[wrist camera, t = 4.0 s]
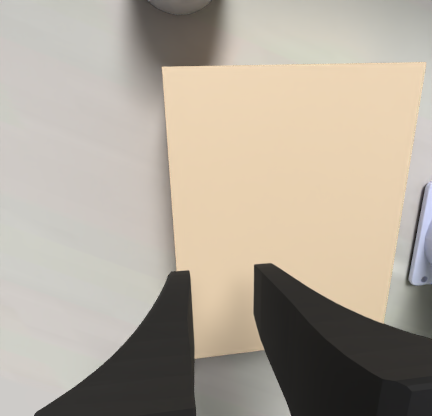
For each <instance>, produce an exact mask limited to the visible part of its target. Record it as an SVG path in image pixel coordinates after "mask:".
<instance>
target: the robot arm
mask: <svg viewBox="0 0 432 416" xmlns="http://www.w3.org/2000/svg"><path fill="white" fill-rule="evenodd" d="M422 277H423V278H422ZM409 282H410V283H411V284H413V285H416V286H417V285H427V284H432V181H430V182H429V183H428V184H427V185H426V187H425V192H424V197H423V203H422V208H421V214H420V219H419V225H418V230H417V236H416V241H415V246H414V252H413V257H412V263H411V268H410V274H409ZM253 315H254V318H255V322H256V326H257V330H258V333H259V337H260V340H261V342H262V345H263V347H264V350H265V352H266V355H267V357H268V359H269V362H270V364H271V366H272V369H273V371H274V373H275V376H276V378H277V380H278V383H279V385H280V388H281V390H282V392H283V395H284V397H285V399H286V402H287V405H288V407H289V410H290V413H291V416H432V339H430V338H426V337H423V336H419V335H416V334H412V333H409V332H406V331H403V330H400V329H397V328H394V327H391V326H389V325H386V324H383V323H380V322H378V321H375V320H373V319H370V318H368V317H365V316H363V315H361V314H358V313H356V312H354V311H352V310H350V309H347V308H345V307H343V306H341V305H339V304H337V303H335V302H334V301H332V300H330V299H328V298H326V297H325V296H323V295H321V294H319V293H318V292H316V291H314V290H312V289H311V288H309V287H308V286H306V285H304V284H303V283H301V282H300V281H298V280H297V279H295V278H294V277H292V276H291V275H289V274H288V273H286V272H285V271H283V270H282V269H280V268H279V267H277V266H276V265H274V264H272V263H265V264H254V305H253ZM194 357H195V345H194V328H193V310H192V293H191V277H190V271H189V270H185V271H174V272H171V273H170V274H169V275H168V278H167V280H166V283H165V285H164V287H163V289H162V291H161V293H160V295H159V297H158V298H157V300H156V302H155V304H154V305H153V307H152V308H151V310H150V311H149V313H148V314H147V316H146V317H145V319H144V320H143V321H142V323H141V324H140V325H139V327H138V328H137V329H136V331H135V332H134V333H133V334H132V335H131V337H130V338H129V339H128V340H127V341H126V342H125V343H124V344H123V345H122V346H121V347H120V349H119V350H118V351H117V352H116V353H115V354H114V355H113V356H112V357H110V358H109V359H108V360H107V361H106V362H105V363H104V364H103V365H102V366H100V367H99V368H98V369H97V370H96V371H94V372H93V373H92V374H91V375H89V376H88V377H87V378H86V379H84V380H83V381H82V382H80V383H79V384H78V385H76V386H75V387H74V388H72V389H71V390H69V391H68V392H66V393H65V394H63V395H62V396H60V397H59V398H57V399H56V400H54V401H53V402H51V403H50V404H48V405H47V406H46V407H44V408H42V409H41V410H39V411H37V412H36V413H35V415H34V416H196V407H195V397H194Z"/></svg>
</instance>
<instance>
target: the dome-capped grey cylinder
mask: <svg viewBox="0 0 432 416" xmlns="http://www.w3.org/2000/svg"><path fill="white" fill-rule="evenodd" d="M147 1H148V2H149V3H150V4H152V5H153V6H154V7H156V8H158V9H160V10H161V11H164V12H166V13H170V14H175V15H186V14H191V13H194V12H196V11H199V10H200V9H202V8H204V7H205V6H206V5H208V4H209V3H210V2H211V1H212V0H147Z"/></svg>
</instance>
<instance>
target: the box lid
mask: <svg viewBox="0 0 432 416" xmlns="http://www.w3.org/2000/svg"><path fill="white" fill-rule="evenodd" d="M425 68H426V62H409V63H350V64H292V65H233V66H175V67H162V75H163V89H164V103H165V117H166V131H167V145H168V158H169V172H170V186H171V200H172V214H173V228H174V241H175V255H176V269H177V271H185V270H189V271H190V277H191V293H192V310H193V328H194V345H195V357H194V359H198V358H206V357H214V356H221V355H229V354H237V353H245V352H253V351H261V350H264V347H263V345H262V342H261V340H260V337H259V333H258V330H257V326H256V322H255V318H254V315H253V305H254V264H265V263H272V264H274V265H276V266H277V267H279V268H280V269H282V270H283V271H285V272H286V273H288V274H289V275H291V276H292V277H294V278H295V279H297V280H298V281H300V282H301V283H303V284H304V285H306V286H308V287H309V288H311V289H312V290H314V291H316V292H318V293H319V294H321V295H323V296H325V297H326V298H328V299H330V300H332V301H334V302H335V303H337V304H339V305H341V306H343V307H345V308H347V309H350V310H352V311H354V312H356V313H358V314H361V315H363V316H365V317H368V318H370V319H373V320H375V321H378V322H380V323H383V324H384V318H385V312H386V306H387V300H388V294H389V288H390V282H391V275H392V269H393V263H394V257H395V251H396V245H397V239H398V233H399V227H400V221H401V215H402V208H403V202H404V196H405V190H406V184H407V178H408V172H409V166H410V160H411V154H412V147H413V141H414V135H415V129H416V123H417V117H418V111H419V105H420V99H421V93H422V87H423V80H424V74H425Z"/></svg>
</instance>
